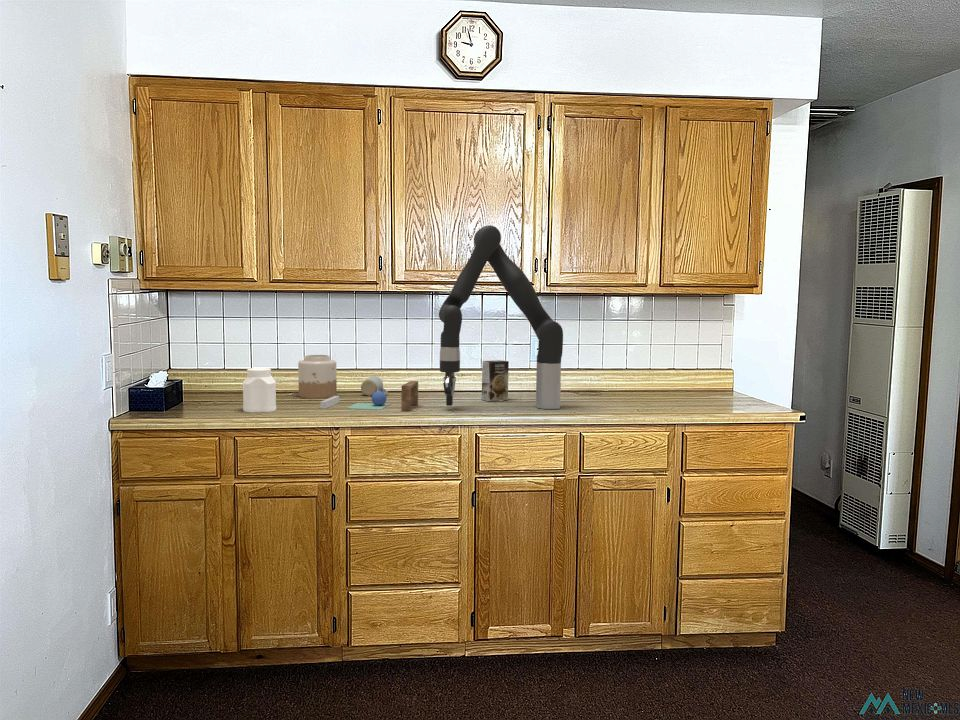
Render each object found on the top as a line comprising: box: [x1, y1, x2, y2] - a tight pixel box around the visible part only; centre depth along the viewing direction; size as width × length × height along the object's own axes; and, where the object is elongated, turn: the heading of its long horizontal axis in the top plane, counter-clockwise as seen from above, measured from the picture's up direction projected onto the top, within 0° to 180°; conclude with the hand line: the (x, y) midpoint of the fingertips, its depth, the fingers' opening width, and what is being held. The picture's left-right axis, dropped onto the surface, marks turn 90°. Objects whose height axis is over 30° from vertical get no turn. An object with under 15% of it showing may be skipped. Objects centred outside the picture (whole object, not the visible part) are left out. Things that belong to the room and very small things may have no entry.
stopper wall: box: [319, 395, 341, 410], centre depth 282 cm, size 2×16×2 cm, turn 172°
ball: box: [371, 391, 387, 406], centre depth 282 cm, size 6×6×6 cm
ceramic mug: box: [360, 375, 389, 397], centre depth 310 cm, size 11×8×8 cm
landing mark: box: [346, 402, 391, 411], centre depth 281 cm, size 13×13×1 cm
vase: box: [297, 354, 338, 400], centre depth 305 cm, size 15×15×17 cm
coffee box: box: [481, 359, 510, 402], centre depth 300 cm, size 9×6×16 cm
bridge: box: [400, 380, 419, 412], centre depth 278 cm, size 3×15×9 cm, turn 172°
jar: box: [242, 367, 277, 413], centre depth 269 cm, size 12×10×15 cm
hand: (449, 405), depth 276 cm, fingers closed
